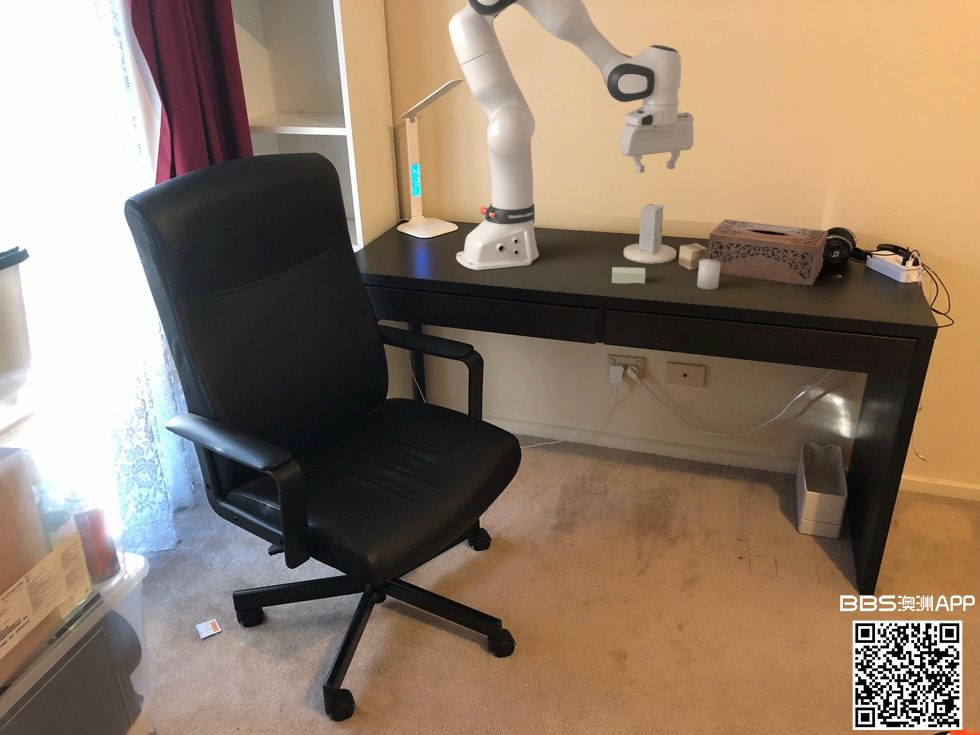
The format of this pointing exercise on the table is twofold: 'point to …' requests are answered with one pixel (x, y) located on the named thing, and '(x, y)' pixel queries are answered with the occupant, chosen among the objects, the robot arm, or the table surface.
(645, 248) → the skincare box
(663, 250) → the cream saucer
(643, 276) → the sage brick
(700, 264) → the grey plastic cylinder
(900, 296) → the table surface
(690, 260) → the birch block
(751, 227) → the tissue box cover
